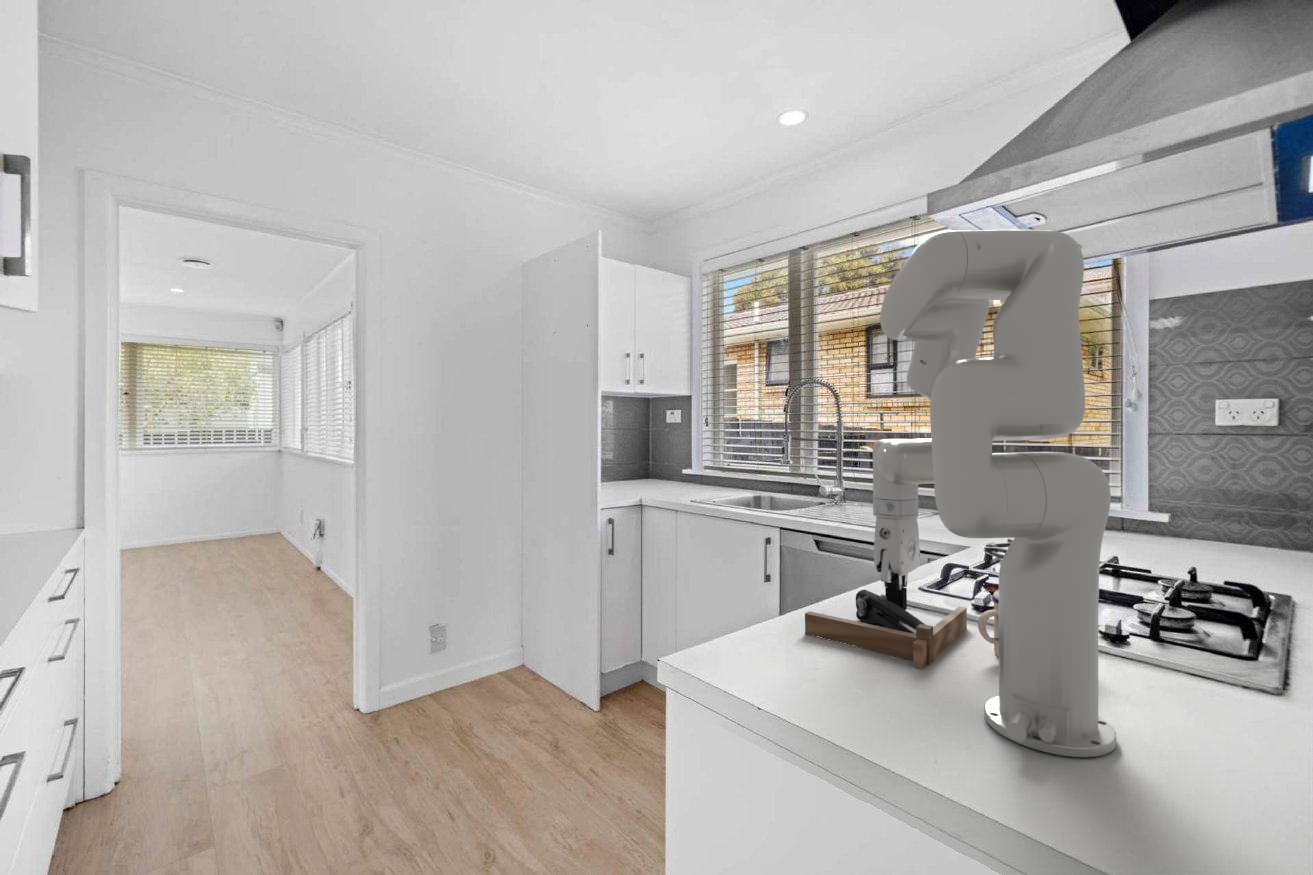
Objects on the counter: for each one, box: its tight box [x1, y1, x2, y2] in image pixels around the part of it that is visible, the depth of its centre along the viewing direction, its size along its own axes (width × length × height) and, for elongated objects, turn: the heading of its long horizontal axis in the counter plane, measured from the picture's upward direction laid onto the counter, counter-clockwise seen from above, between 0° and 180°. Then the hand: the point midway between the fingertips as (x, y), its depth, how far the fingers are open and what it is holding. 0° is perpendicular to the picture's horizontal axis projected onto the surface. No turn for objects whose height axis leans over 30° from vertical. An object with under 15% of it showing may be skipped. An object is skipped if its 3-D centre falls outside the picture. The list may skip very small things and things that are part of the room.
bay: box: [804, 606, 968, 670], centre depth 100 cm, size 22×20×5 cm
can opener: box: [855, 589, 925, 634], centre depth 101 cm, size 18×7×6 cm, turn 13°
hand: (896, 609), depth 108 cm, fingers closed
